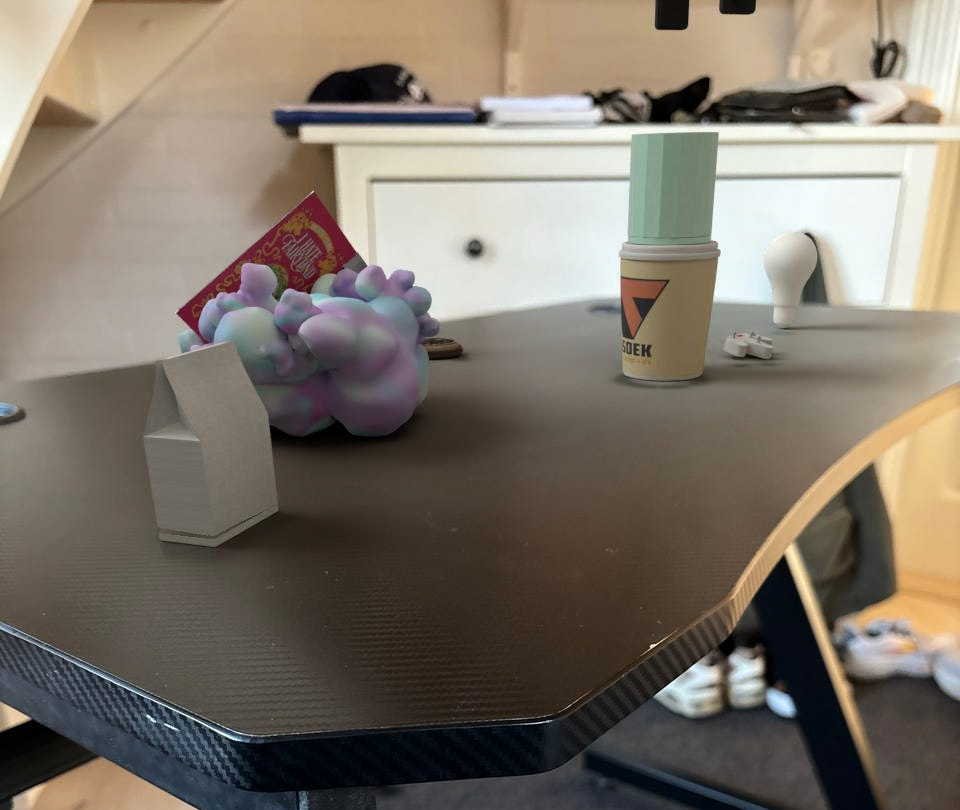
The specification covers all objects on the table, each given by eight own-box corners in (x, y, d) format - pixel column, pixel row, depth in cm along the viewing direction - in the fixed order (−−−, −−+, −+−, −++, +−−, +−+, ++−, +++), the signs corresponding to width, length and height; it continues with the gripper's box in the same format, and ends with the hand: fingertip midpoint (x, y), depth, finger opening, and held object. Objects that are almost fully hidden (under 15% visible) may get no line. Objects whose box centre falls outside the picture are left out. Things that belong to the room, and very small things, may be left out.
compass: (458, 360, 108) (456, 288, 104) (386, 359, 109) (382, 288, 106) (470, 347, 115) (469, 280, 112) (402, 347, 116) (399, 280, 113)
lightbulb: (815, 326, 124) (826, 230, 119) (800, 333, 119) (812, 233, 115) (766, 323, 127) (775, 229, 122) (750, 330, 122) (759, 232, 118)
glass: (711, 238, 96) (718, 133, 92) (710, 244, 89) (718, 131, 85) (631, 239, 98) (635, 135, 94) (624, 245, 91) (628, 133, 87)
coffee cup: (598, 369, 101) (601, 241, 96) (679, 362, 104) (687, 237, 99) (643, 386, 93) (650, 247, 88) (730, 377, 96) (741, 242, 91)
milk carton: (278, 510, 61) (260, 341, 57) (215, 547, 56) (189, 362, 51) (226, 505, 63) (205, 339, 58) (159, 540, 57) (130, 359, 53)
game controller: (766, 362, 103) (768, 335, 102) (658, 355, 108) (660, 330, 107) (780, 353, 107) (782, 327, 106) (676, 347, 113) (677, 323, 111)
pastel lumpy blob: (310, 410, 65) (384, 148, 65) (75, 371, 74) (141, 141, 74) (446, 494, 83) (504, 289, 84) (244, 454, 92) (297, 270, 93)
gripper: (829, -269, 73) (804, 8, 80) (693, -193, 87) (683, 35, 95) (742, -281, 70) (726, 6, 78) (618, -201, 85) (613, 34, 92)
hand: (702, 22), depth 86 cm, fingers open, 9 cm apart
